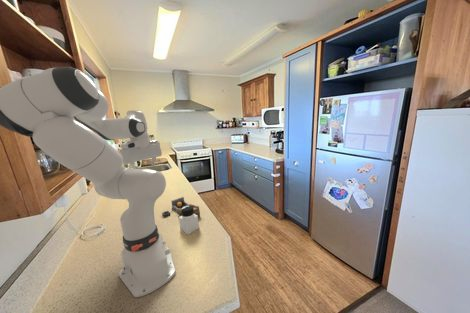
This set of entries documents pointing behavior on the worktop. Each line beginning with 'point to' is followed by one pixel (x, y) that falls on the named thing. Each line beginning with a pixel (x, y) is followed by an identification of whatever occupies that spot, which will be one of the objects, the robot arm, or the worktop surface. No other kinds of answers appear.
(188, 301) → the worktop surface
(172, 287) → the worktop surface
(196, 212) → the launch ramp
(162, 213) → the square nut
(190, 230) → the medicine bottle
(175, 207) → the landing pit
